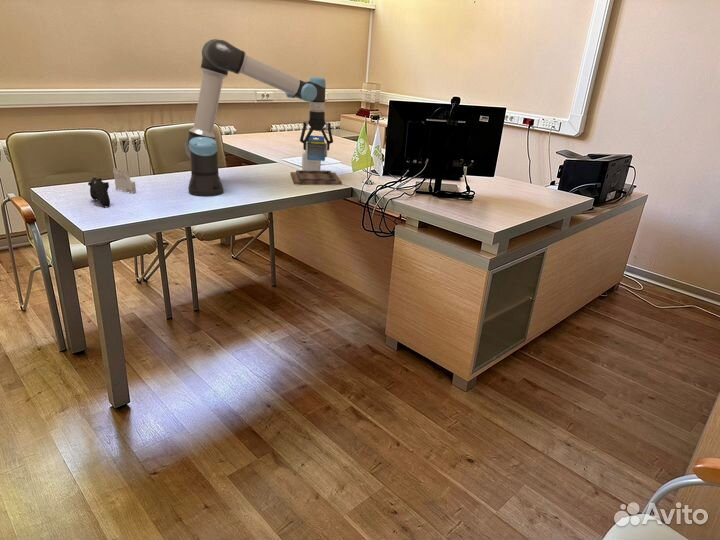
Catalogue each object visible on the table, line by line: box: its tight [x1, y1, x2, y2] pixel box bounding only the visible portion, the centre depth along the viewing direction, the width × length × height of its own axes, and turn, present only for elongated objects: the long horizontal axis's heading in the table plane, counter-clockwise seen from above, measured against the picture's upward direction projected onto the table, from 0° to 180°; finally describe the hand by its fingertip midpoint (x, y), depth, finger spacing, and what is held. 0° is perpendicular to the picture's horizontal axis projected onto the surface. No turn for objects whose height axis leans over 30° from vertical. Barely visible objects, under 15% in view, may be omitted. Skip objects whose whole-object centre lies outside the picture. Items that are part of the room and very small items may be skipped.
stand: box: [290, 169, 343, 186], centre depth 262 cm, size 24×21×3 cm
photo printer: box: [301, 149, 322, 171], centre depth 276 cm, size 10×4×12 cm, turn 103°
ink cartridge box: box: [112, 167, 137, 194], centre depth 221 cm, size 2×11×10 cm, turn 59°
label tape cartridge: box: [306, 134, 326, 162], centre depth 256 cm, size 9×4×12 cm, turn 84°
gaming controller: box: [87, 177, 111, 207], centre depth 202 cm, size 14×6×10 cm, turn 45°
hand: (316, 156), depth 258 cm, fingers closed on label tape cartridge, 9 cm apart
